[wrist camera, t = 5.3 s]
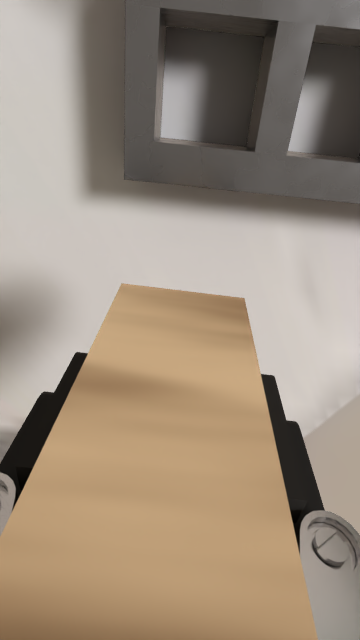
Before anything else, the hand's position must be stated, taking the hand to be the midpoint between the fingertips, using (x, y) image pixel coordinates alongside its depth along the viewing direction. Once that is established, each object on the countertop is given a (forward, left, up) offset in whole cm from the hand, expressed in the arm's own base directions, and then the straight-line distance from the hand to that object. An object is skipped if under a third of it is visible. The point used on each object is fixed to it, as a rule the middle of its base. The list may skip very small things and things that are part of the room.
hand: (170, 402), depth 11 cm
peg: (0, 0, -3) cm, 3 cm away
